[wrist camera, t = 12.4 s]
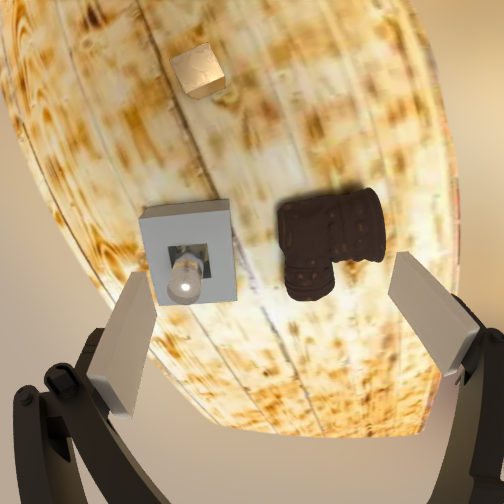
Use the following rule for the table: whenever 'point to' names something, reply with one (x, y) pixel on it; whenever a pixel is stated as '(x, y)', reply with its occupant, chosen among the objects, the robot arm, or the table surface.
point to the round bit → (187, 274)
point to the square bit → (198, 71)
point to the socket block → (187, 233)
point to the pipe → (328, 239)
